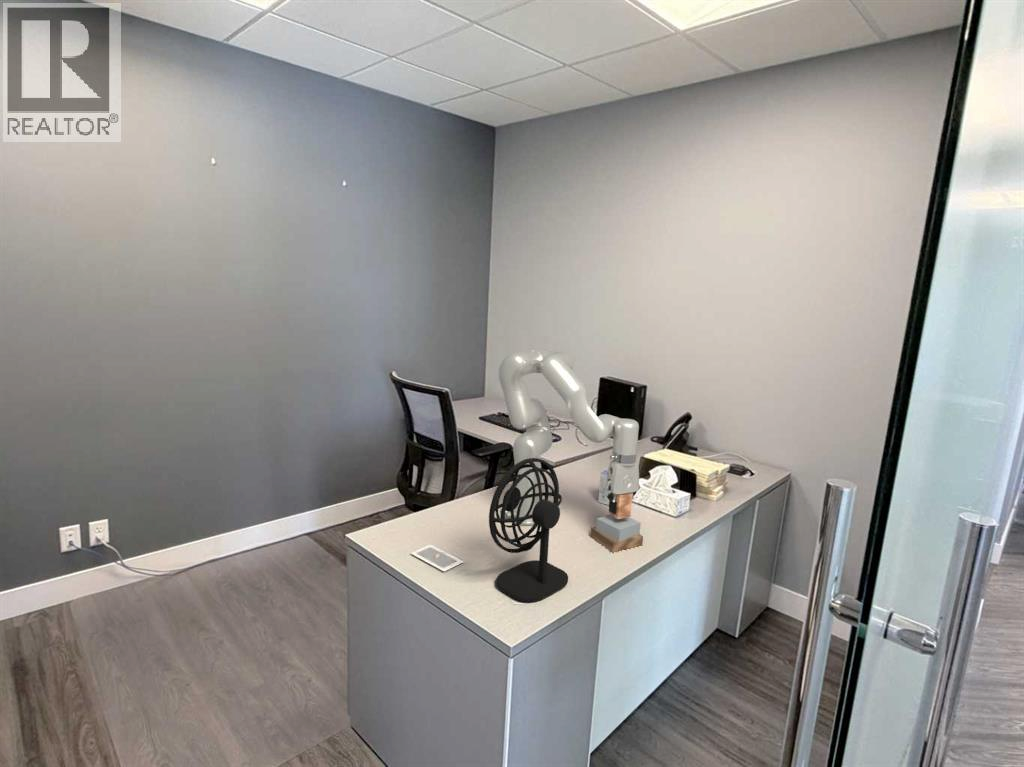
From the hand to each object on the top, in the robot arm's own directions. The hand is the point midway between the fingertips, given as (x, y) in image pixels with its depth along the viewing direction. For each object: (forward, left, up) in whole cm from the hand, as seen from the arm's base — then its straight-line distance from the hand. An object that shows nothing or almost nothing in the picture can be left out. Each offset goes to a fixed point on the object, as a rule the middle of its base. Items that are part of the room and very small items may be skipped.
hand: (619, 510), depth 175 cm
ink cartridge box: (+18, +27, -11) cm, 34 cm away
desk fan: (-38, -11, -11) cm, 41 cm away
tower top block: (0, 0, -8) cm, 8 cm away
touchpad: (-58, +10, -12) cm, 60 cm away
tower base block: (0, 0, -12) cm, 12 cm away
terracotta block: (0, 0, -2) cm, 2 cm away
